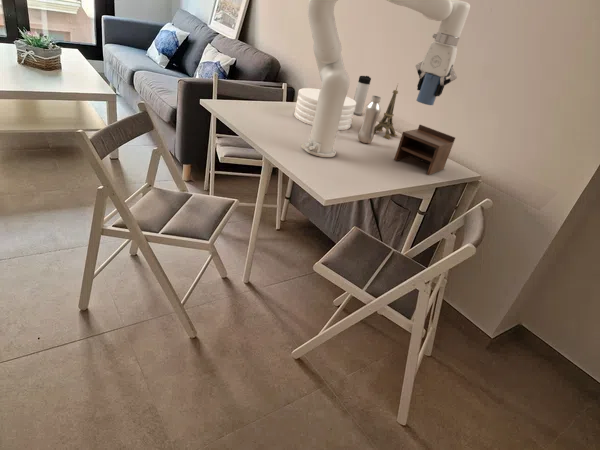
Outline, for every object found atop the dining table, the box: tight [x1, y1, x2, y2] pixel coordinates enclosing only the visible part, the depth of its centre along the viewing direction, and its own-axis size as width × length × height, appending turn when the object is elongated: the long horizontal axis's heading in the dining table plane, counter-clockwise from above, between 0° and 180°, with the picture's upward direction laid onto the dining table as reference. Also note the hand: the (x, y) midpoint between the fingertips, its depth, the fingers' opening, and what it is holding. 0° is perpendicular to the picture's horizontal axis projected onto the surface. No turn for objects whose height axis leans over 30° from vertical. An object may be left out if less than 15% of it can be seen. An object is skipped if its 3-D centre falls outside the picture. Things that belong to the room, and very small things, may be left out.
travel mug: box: [353, 75, 372, 116], centre depth 225 cm, size 6×7×20 cm
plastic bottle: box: [357, 95, 382, 144], centre depth 180 cm, size 6×7×20 cm
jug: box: [416, 73, 440, 106], centre depth 152 cm, size 10×6×10 cm, turn 139°
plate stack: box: [293, 87, 356, 131], centre depth 201 cm, size 28×28×12 cm
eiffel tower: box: [374, 84, 399, 140], centre depth 198 cm, size 11×11×25 cm
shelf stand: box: [393, 124, 456, 176], centre depth 169 cm, size 14×16×14 cm
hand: (428, 92), depth 152 cm, fingers closed on jug, 6 cm apart
